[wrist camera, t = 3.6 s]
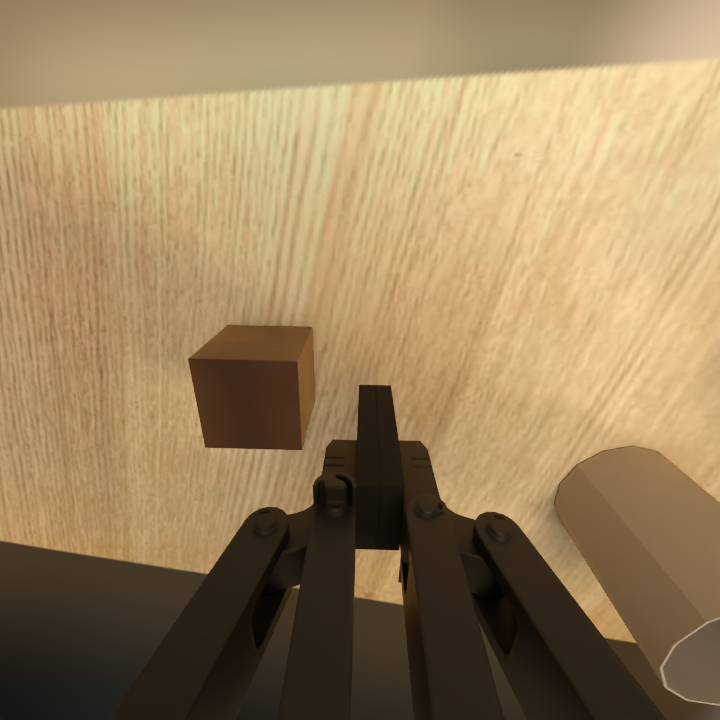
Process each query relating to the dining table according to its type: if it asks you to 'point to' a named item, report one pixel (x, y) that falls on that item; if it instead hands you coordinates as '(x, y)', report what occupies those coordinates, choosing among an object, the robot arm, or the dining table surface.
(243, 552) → the robot arm
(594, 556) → the cup
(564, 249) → the dining table surface
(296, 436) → the walnut block
